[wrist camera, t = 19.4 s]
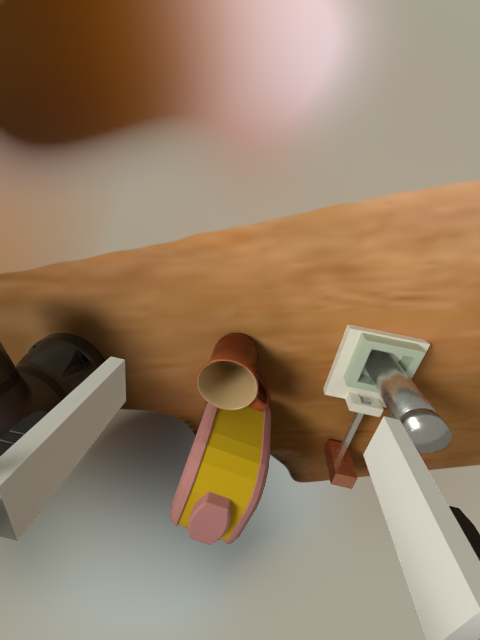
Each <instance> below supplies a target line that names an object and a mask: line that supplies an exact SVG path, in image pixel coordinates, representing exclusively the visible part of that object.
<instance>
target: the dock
mask: <svg viewBox="0 0 480 640" xmlns="http://www.w3.org/2000/svg"><path fill="white" fill-rule="evenodd" d="M429 346H430V344H429V343H428V342H427V341H426V340H424V339H419V338H414V337H409V336H404V335H399V334H394V333H389V332H384V331H379V330H374V329H369V328H364V327H359V326H354V325H349V324H348V325H347V327H346V330H345V333H344V335H343V338H342V341H341V343H340V346H339V349H338V351H337V354H336V357H335V359H334V362H333V364H332V367H331V370H330V372H329V375H328V378H327V380H326V383H325V386H324V388H323V390H324V394H325V395H330V396H334V397H339V398H344V399H345V400H346V403H347V406H348V408H349V411H354V412H358V413H363V414H367V415H372V416H376V417H380V416H381V414H382V412H383V408H382V407H385V408H387V407H386V406H385V404H384V402H383V400H382V398H381V396H380V394H379V393H378V391H377V389H376V387H375V385H374V383H373V381H372V379H371V378H370V376H369V374H368V372H367V370H366V368H365V366H364V365H365V363H366V361H367V358H368V356H369V354H370V352H371V351H372V350H379V351H384V352H389V353H391V354H392V355H393V356H394V358H395V359H396V360H397V362H398V363H399V364H400V366H401V367H402V368H403V369H404V371H405V372H406V373H407V375H408V376H409V377H410V379H412V377H413V375H414V374H415V372H416V370H417V368H418V366H419V365H420V363H421V361H422V359H423V357H424V355H425V354H426V352H427V350H428V348H429ZM363 396H364V397H368V398H369V400H370V403H369V404H365V403H361V399H362V397H363Z"/></svg>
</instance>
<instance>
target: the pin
mask: <svg viewBox="0 0 480 640" xmlns="http://www.w3.org/2000/svg"><path fill="white" fill-rule="evenodd" d="M361 403H365V404H369V403H370V400H369V398H368V397H364V396H363V397H362V399H361ZM363 415H364V414H363V413H358V412H355V414H354V417H353V419H352V421H351V423H350V425H349V427H348V429H347V432H346V434H345V436H344V438H343V440H342V442H337V441H333V440H328V442H327V444H326V447H325V449H324V450H325V456H326V461H327V466H328V471H329V477H330V481H331V484H334V485H338V486H342V487H346V488H352V487H353V485H354V484H355V482H356V480H357V476H356V472H355V469H354V465H353V462H352V458H351V455H350V451H349V448H348V446H349V444H350V442H351V440H352V438H353V436H354V433H355V431H356V429H357V427H358V425H359V423H360V421H361V419H362V417H363Z"/></svg>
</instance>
